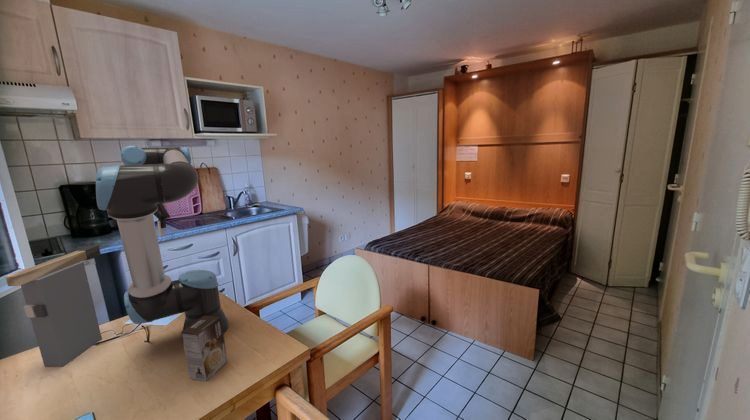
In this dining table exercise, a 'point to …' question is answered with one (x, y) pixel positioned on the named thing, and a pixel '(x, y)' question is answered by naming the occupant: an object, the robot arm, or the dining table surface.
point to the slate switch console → (62, 314)
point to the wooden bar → (52, 266)
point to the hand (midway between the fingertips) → (144, 238)
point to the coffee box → (204, 347)
